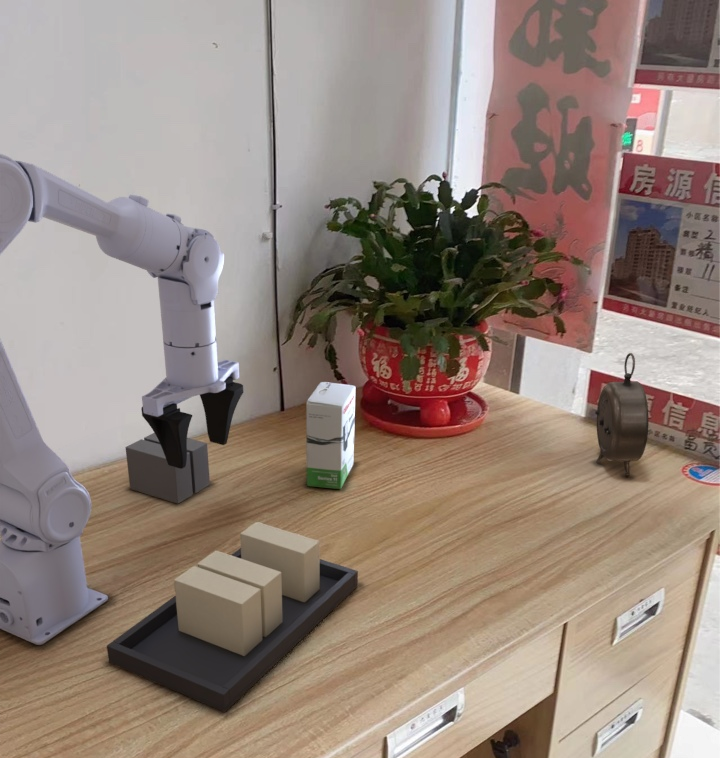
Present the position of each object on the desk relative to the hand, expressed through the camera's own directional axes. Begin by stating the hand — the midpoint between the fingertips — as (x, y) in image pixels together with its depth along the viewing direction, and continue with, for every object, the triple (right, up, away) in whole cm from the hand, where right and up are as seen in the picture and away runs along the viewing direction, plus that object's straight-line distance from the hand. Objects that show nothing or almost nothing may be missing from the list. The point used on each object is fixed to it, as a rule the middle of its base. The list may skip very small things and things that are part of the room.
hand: (198, 453), depth 102 cm
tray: (+7, -18, -13) cm, 23 cm away
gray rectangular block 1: (-7, -4, +12) cm, 14 cm away
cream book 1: (+5, -19, -16) cm, 25 cm away
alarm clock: (+55, 0, +22) cm, 59 cm away
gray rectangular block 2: (-5, -3, +15) cm, 16 cm away
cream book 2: (+7, -17, -13) cm, 23 cm away
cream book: (+10, -15, -8) cm, 20 cm away
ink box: (+15, -2, +17) cm, 23 cm away
